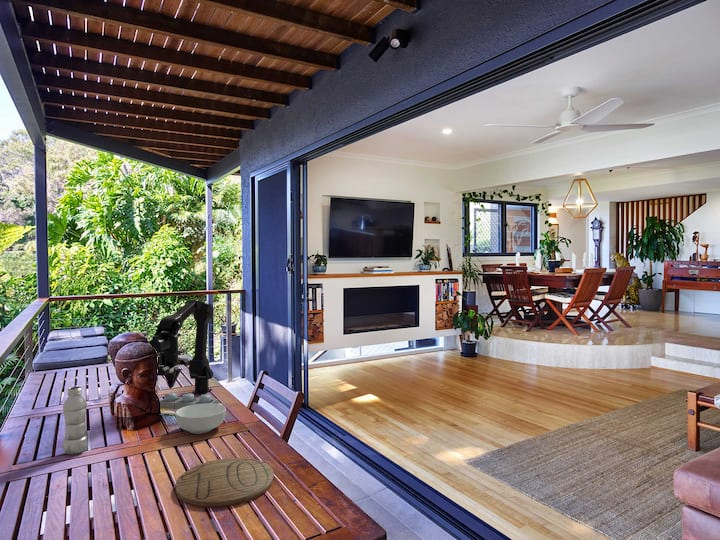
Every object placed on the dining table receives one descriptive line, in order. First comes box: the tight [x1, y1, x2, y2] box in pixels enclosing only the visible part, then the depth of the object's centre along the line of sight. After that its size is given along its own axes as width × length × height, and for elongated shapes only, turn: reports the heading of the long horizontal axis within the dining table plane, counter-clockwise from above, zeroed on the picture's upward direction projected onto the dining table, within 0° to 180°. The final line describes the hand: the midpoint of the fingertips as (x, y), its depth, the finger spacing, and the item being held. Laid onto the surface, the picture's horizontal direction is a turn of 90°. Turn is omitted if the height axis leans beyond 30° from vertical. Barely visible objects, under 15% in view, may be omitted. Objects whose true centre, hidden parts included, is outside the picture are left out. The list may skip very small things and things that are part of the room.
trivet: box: [174, 457, 275, 509], centre depth 124 cm, size 25×25×2 cm
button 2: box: [181, 392, 195, 403], centre depth 186 cm, size 4×4×3 cm
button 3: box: [198, 393, 212, 404], centre depth 185 cm, size 4×4×3 cm
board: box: [158, 396, 224, 416], centre depth 185 cm, size 14×24×3 cm, turn 79°
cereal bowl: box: [174, 403, 227, 435], centre depth 163 cm, size 17×17×7 cm
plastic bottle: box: [62, 386, 89, 455], centre depth 144 cm, size 6×7×20 cm
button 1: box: [164, 392, 178, 402], centre depth 187 cm, size 4×4×3 cm
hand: (171, 387), depth 187 cm, fingers closed
